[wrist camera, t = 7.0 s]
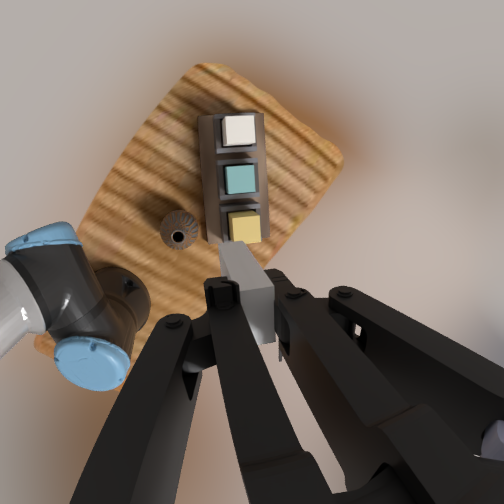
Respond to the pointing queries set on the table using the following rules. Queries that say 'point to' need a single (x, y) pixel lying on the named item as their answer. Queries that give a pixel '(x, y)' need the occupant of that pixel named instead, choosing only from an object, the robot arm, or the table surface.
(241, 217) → the plunger ochre
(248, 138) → the plunger cream
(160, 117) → the table surface
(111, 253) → the table surface
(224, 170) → the plunger teal
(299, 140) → the table surface
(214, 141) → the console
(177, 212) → the vase
